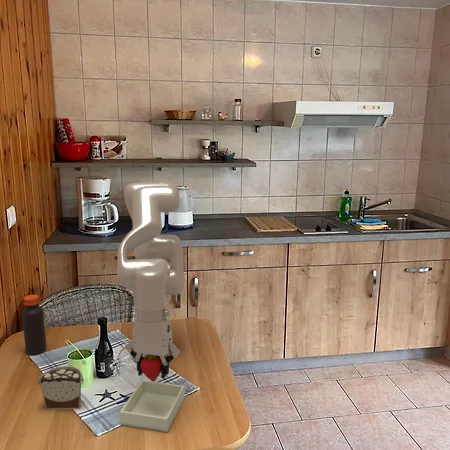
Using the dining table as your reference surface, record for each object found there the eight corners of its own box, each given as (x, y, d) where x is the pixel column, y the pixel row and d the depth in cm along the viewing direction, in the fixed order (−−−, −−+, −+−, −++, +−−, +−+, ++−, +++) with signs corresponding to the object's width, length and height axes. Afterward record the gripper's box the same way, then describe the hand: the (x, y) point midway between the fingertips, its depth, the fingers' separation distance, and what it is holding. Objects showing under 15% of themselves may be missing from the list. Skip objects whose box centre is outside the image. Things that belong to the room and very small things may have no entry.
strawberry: (136, 386, 120) (135, 352, 118) (150, 371, 127) (149, 339, 125) (155, 390, 118) (154, 356, 116) (169, 376, 125) (168, 343, 123)
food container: (90, 395, 132) (88, 365, 130) (84, 408, 126) (82, 377, 124) (48, 396, 131) (45, 365, 129) (40, 409, 125) (37, 377, 123)
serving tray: (142, 391, 134) (141, 380, 133) (184, 398, 131) (184, 385, 130) (120, 425, 119) (119, 411, 118) (167, 432, 117) (167, 419, 116)
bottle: (27, 357, 152) (21, 302, 148) (24, 348, 158) (19, 295, 153) (48, 352, 156) (43, 298, 151) (45, 344, 161) (40, 292, 157)
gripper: (186, 310, 120) (187, 371, 124) (126, 304, 124) (129, 363, 128) (177, 322, 113) (178, 386, 117) (114, 315, 117) (117, 378, 121)
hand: (152, 374), depth 122 cm, fingers closed on strawberry, 6 cm apart
